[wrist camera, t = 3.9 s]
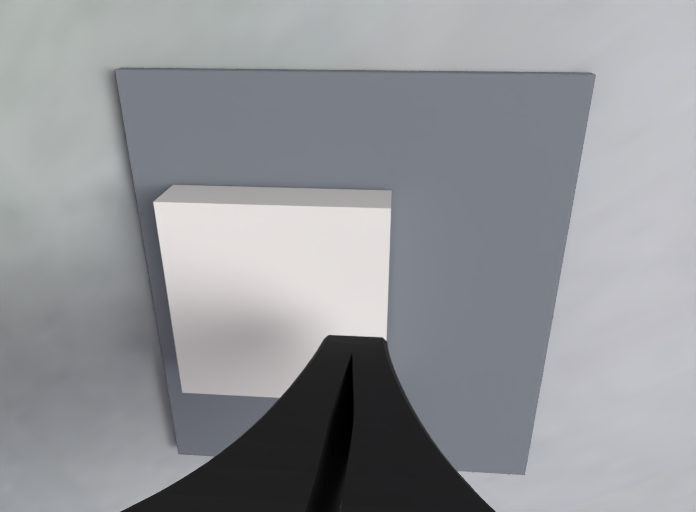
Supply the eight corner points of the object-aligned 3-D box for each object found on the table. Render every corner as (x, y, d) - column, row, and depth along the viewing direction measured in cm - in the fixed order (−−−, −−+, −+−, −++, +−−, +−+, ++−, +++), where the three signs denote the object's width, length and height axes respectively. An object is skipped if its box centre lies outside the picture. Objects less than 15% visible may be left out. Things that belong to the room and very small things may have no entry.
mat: (522, 466, 20) (524, 474, 19) (182, 445, 20) (178, 454, 20) (590, 72, 14) (595, 75, 14) (121, 67, 15) (115, 69, 15)
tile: (384, 403, 17) (182, 392, 17) (385, 370, 18) (198, 362, 18) (391, 208, 14) (153, 201, 14) (391, 188, 15) (174, 183, 16)
